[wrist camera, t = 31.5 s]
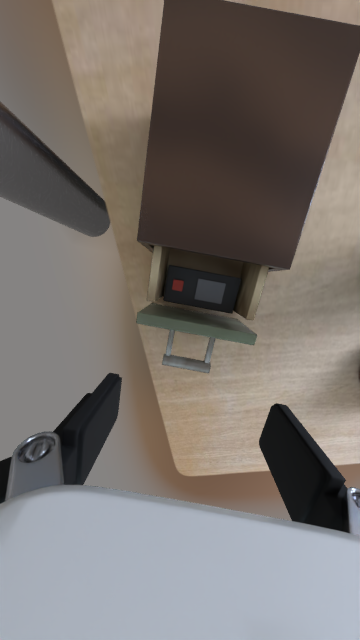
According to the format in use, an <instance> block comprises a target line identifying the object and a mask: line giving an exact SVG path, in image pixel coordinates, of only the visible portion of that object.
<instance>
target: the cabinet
mask: <svg viewBox="0 0 360 640" xmlns="http://www.w3.org/2000/svg"><path fill="white" fill-rule="evenodd" d="M359 53H360V26H358V25H353V24H347V23H342V22H337V21H331V20H326V19H320V18H315V17H310V16H304V15H299V14H294V13H288V12H283V11H278V10H272V9H267V8H261V7H256V6H251V5H245V4H240V3H235V2H229V1H224V0H164V8H163V17H162V26H161V35H160V43H159V52H158V61H157V70H156V79H155V87H154V96H153V105H152V114H151V122H150V131H149V140H148V149H147V158H146V166H145V175H144V184H143V193H142V201H141V210H140V219H139V228H138V237H137V241H138V242H140V243H141V244H142V245H143V246H145V247H146V248H147V249H148V250H150V251H151V252H152V253H153V250H154V245H155V246H160V247H165V248H171V249H176V250H181V251H187V252H192V253H197V254H203V255H208V256H213V257H219V258H224V259H229V260H235V261H240V262H245V263H250V264H256V265H261V266H266V267H269V270H268V272H270V271H280V270H289V269H290V267H291V264H292V261H293V258H294V255H295V252H296V249H297V246H298V243H299V239H300V236H301V233H302V230H303V227H304V224H305V221H306V218H307V215H308V211H309V208H310V205H311V202H312V199H313V196H314V193H315V190H316V187H317V184H318V180H319V177H320V174H321V171H322V168H323V165H324V162H325V159H326V156H327V153H328V149H329V146H330V143H331V140H332V137H333V134H334V131H335V128H336V125H337V121H338V118H339V115H340V112H341V109H342V106H343V103H344V100H345V97H346V94H347V90H348V87H349V84H350V81H351V78H352V75H353V72H354V69H355V66H356V62H357V59H358V56H359Z"/></svg>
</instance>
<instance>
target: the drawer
mask: <svg viewBox="0 0 360 640" xmlns="http://www.w3.org/2000/svg"><path fill="white" fill-rule="evenodd" d="M169 265H173V266H178V267H184V268H189V269H194V270H200V271H205V272H210V273H216V274H221V275H226V276H231V277H237V278H241V282H240V286H239V290H238V294H237V297H236V301H235V305H234V309H233V311H235V312H236V313H238V314H239V315H241V316H242V317H244V318H245V319H247V320H254V318H255V314H256V311H257V307H258V304H259V301H260V297H261V294H262V290H263V287H264V284H265V280H266V277H267V273H268V270H269V267H266V266H261V265H256V264H250V263H245V262H240V261H235V260H229V259H224V258H219V257H213V256H208V255H203V254H197V253H192V252H187V251H181V250H176V249H171V248H165V247H160V246H155V245H154V250H153V257H152V264H151V272H150V279H149V286H148V294H147V301H152V302H155V301H156V300H158V299H159V298H161V297H162V296H163V297H164V292H165V286H166V280H167V273H168V267H169ZM136 323H138V324H143V325H148V326H154V327H159V328H164V329H170V332H169V338H168V344H167V349H166V354H164V357H163V362H162V365H167V366H172V367H177V368H183V369H188V370H193V371H199V372H204V373H209V372H210V367H211V364H210V358H211V354H212V350H213V346H214V342H215V338H217V339H223V340H228V341H233V342H239V343H244V344H249V345H254V344H255V341H256V338H257V334H255V333H254V332H253V331H252V330H250V329H249V328H248V327H247V326H245V325H244V324H243V323H241V322H240V321H239V320H238V319H235V318H229V317H224V316H219V315H213V314H208V313H203V312H198V311H192V310H187V309H182V308H176V307H171V306H166V305H160V304H155V303H152V304H150V305H148V306H147V307H145V308H144V309H142V310H141V311H139V312H138V313H137V321H136ZM175 331H180V332H186V333H191V334H196V335H201V336H207V337H210V338H209V343H208V347H207V351H206V355H205V359H204V361H201V360H196V359H190V358H185V357H180V356H175V355H170V354H171V349H172V344H173V338H174V333H175Z"/></svg>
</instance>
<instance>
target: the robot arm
mask: <svg viewBox="0 0 360 640" xmlns="http://www.w3.org/2000/svg"><path fill="white" fill-rule="evenodd" d="M121 380H122V378H121V377H119V374H113V373H109V374H108V375H107V376H106V377H105V379H104V380H103V381H102V382H101V383H100V384H99V386H98V387H97V388H96V389H95V390H94V392H93V393H87V394H86V395H85V396H84V397H83V398H82V400H81V401H80V402H79V403H78V404H77V405H76V406H75V407H74V409H73V410H72V411H71V412H70V413H69V414H68V415H67V417H66V418H65V419H64V420H63V421H62V422H61V423H60V425H59V426H58V427H57V428H56V429H55V430H54V431H53V432H41V433H37V434H35V435H33V436H30V437H29V438H27V439H26V440H24V441H23V442H22V443H21V444H20V445H18V447H17V448H16V449H15V451H14V452H13V455H12V457H9V458H7V459H5V460H2V461H0V640H360V489H358V488H354V487H350V488H348V489H347V487H346V486H345V485H344V482H345V481H346V480H345V478H344V477H343V476H342V475H341V473H340V472H339V471H338V470H337V468H336V467H335V466H334V465H333V463H332V462H331V461H330V459H329V458H328V457H327V456H326V454H325V453H324V452H323V451H322V449H321V448H320V447H319V446H318V444H317V443H316V442H315V441H314V439H313V438H312V437H311V435H310V434H309V433H308V432H307V430H306V429H305V428H304V427H303V425H302V424H301V423H300V422H299V420H298V419H297V418H296V417H295V415H294V414H293V413H292V412H291V410H290V409H289V408H288V407H287V406H286V405H282V404H277V403H276V404H274V405H273V406H271V409H270V412H269V414H268V417H267V420H266V423H265V426H264V428H263V431H262V434H261V437H260V439H259V445H260V448H261V451H262V453H263V455H264V457H265V460H266V462H267V464H268V467H269V469H270V471H271V474H272V476H273V478H274V480H275V483H276V485H277V487H278V490H279V492H280V494H281V497H282V499H283V501H284V503H285V506H286V508H287V510H288V513H289V515H290V517H291V519H292V521H289V520H284V519H278V518H273V517H267V516H263V515H257V514H252V513H247V512H241V511H236V510H230V509H225V508H220V507H214V506H209V505H203V504H197V503H192V502H186V501H181V500H175V499H169V498H164V497H157V496H153V495H147V494H141V493H136V492H130V491H123V490H117V489H110V488H104V487H96V486H87V485H83V484H84V482H85V480H86V478H87V476H88V474H89V472H90V471H91V469H92V467H93V465H94V463H95V460H96V459H97V457H98V455H99V453H100V451H101V449H102V447H103V445H104V443H105V441H106V439H107V437H108V435H109V433H110V431H111V429H112V427H113V425H114V423H115V421H116V419H117V416H118V409H119V400H120V391H121V382H122V381H121Z"/></svg>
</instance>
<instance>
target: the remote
mask: <svg viewBox="0 0 360 640" xmlns="http://www.w3.org/2000/svg"><path fill="white" fill-rule="evenodd" d="M240 282H241V278H237V277H231V276H226V275H221V274H216V273H210V272H205V271H200V270H194V269H189V268H184V267H178V266H173V265H169V267H168V273H167V280H166V286H165V292H164V298H163V300H164V301H168V302H174V303H179V304H184V305H189V306H195V307H200V308H205V309H211V310H216V311H221V312H226V313H233V309H234V305H235V301H236V297H237V294H238V290H239V286H240Z"/></svg>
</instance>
